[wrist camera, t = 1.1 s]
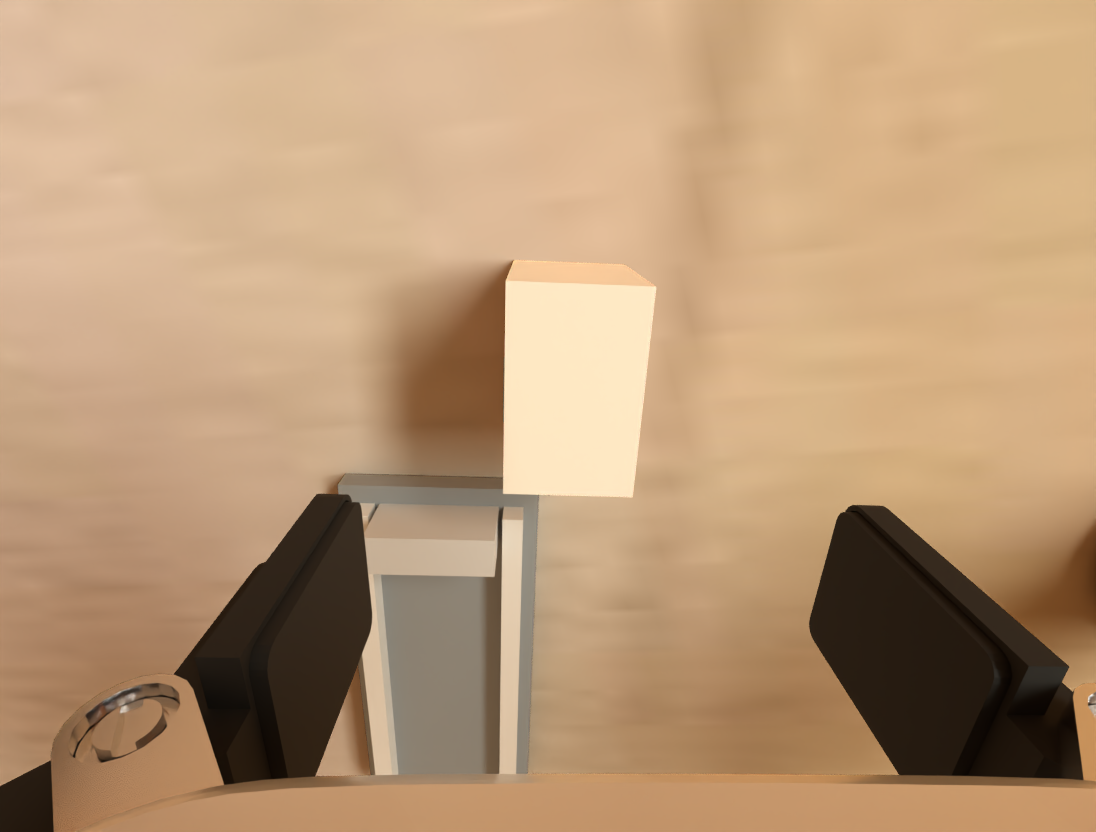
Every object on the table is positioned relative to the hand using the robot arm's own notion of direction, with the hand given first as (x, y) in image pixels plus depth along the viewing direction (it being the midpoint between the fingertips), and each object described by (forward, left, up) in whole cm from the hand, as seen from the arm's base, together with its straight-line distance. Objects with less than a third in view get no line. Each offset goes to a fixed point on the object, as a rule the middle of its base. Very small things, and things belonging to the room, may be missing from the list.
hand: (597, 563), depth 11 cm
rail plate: (+6, +18, -16) cm, 25 cm away
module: (0, 0, -16) cm, 16 cm away
